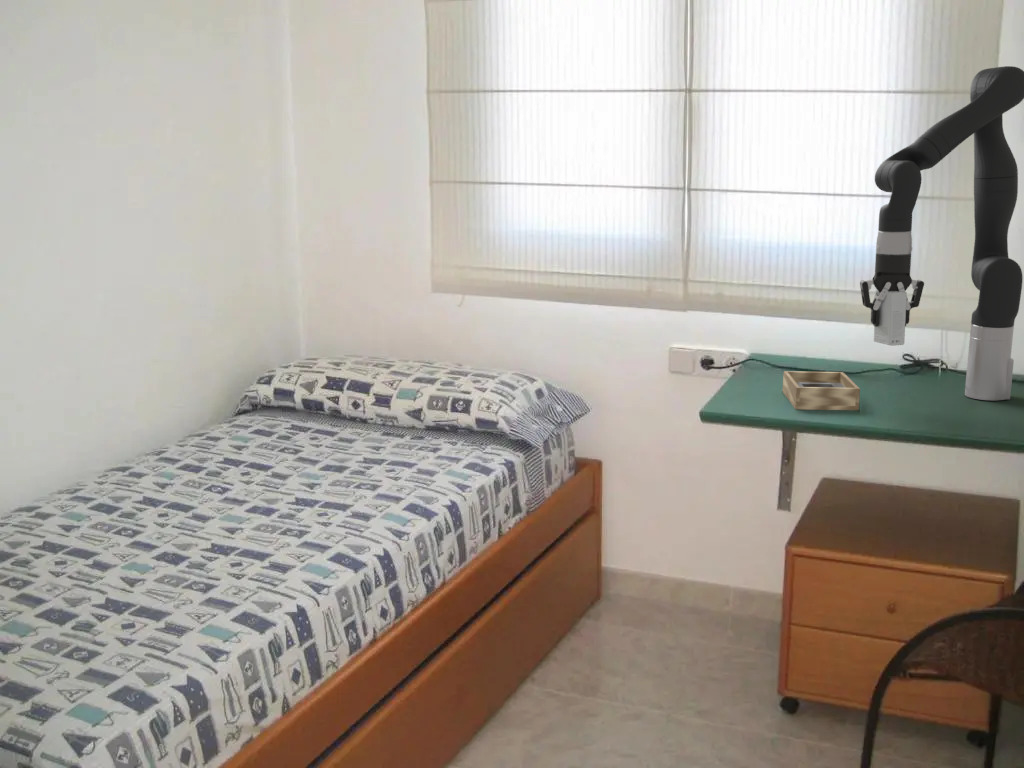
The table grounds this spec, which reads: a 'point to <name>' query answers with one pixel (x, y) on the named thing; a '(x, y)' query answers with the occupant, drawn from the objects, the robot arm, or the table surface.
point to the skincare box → (891, 319)
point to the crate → (821, 390)
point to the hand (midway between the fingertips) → (889, 325)
